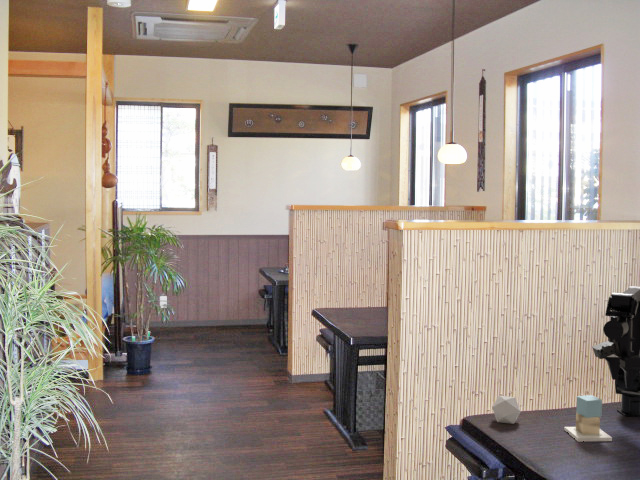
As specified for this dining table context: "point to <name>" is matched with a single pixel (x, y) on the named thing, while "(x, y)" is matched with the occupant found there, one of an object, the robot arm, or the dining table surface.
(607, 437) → the plate
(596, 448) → the dining table surface
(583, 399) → the teal brick
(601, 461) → the dining table surface
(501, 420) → the die
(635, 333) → the robot arm
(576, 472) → the dining table surface
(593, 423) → the maple brick
